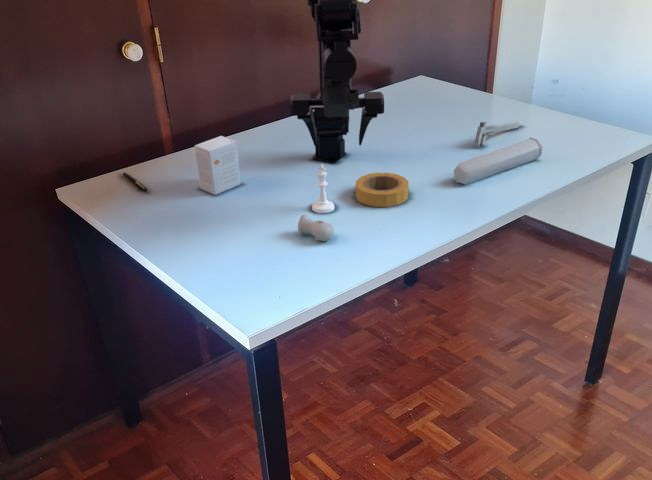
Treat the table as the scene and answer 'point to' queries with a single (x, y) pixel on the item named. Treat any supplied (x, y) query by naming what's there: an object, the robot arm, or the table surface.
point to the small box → (218, 164)
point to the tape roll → (382, 198)
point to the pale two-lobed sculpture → (315, 228)
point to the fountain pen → (135, 182)
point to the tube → (498, 161)
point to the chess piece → (322, 194)
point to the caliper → (492, 131)
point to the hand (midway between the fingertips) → (337, 145)
